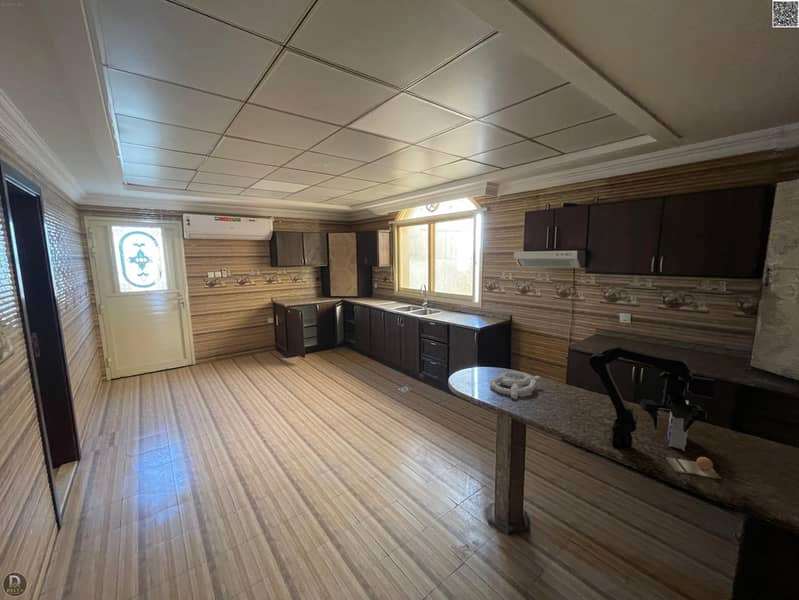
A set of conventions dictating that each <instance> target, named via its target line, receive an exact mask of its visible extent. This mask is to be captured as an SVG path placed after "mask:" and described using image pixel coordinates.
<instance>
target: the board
mask: <svg viewBox="0 0 799 600" xmlns="http://www.w3.org/2000/svg"><path fill="white" fill-rule="evenodd" d="M665 459H666V461H667V462H668V463H669V464H670V466H671V467H672V469H673V470H674V471H675V472H677V473H682V474H687V475H692V474H693V475H692V476H698V475H699V476H700V477H704V478H710V477H711V478H710V479H717V480H722V477H721V476H720V475H719V474H718V473H717V472H716V470H715V469H713V468H714V467H713V468H712V469H711V470H703V469H701V468H700V467H699V466H698V465H697V461H693V460H688V459H687V460H686V459H681V458H680V459H679V458H676V457H667V456H666V457H665Z"/></svg>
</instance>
